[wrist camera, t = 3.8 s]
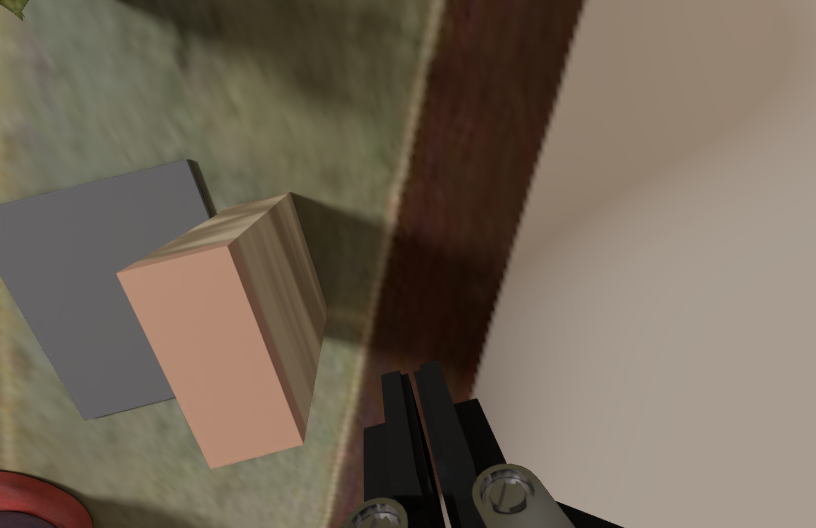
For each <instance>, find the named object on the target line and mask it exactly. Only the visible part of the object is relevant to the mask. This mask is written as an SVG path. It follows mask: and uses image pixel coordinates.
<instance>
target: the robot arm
mask: <svg viewBox="0 0 816 528" xmlns="http://www.w3.org/2000/svg"><path fill="white" fill-rule="evenodd" d="M420 368H421V370H418V371H415V372H414V375H415V379H416V384H417V388H418V393H419V397H420V401H421V406H422V410H423V414H424V419H425V423H426V427H427V432H428V436H429V441H430V445H431V449H432V454H433V458H434V462H435V466H436V471H437V475H438V479H439V482H440V486H441V490H442V494H443V498H444V501H445V505H446V509H447V513H448V517H449V520H450V524H451V528H624V527H621V526H618V525H616V524H613V523H611V522H608V521H606V520H603V519H600V518H598V517H595V516H593V515H590V514H588V513H585V512H583V511H580V510H578V509H575V508H572V507H570V506H567V505H565V504H562V503H560V502H557V501H555V500H554V499H553V498H552V496H551V495H550V494H549V492H548V491H547V490H546V488H545V487H544V486H543V484H542V483H541V482H540V480H539V479H538V478H537V477H536V476H535V475H534V474H533V473H532V472H531V471H530V470H528V469H526V468H524V467H522V466H519V465H514V464H507V463H506V461H505V459H504V457H503V454H502V452H501V450H500V447H499V445H498V443H497V441H496V439H495V436H494V434H493V432H492V430H491V428H490V425H489V423H488V421H487V419H486V417H485V414H484V412H483V410H482V408H481V405H480V403H479V401H478V399H477V398H475V399H472V400H468V401H464V402H460V403H457V404H453V402H452V399H451V396H450V394H449V391H448V388H447V385H446V382H445V379H444V376H443V374H442V371H441V368H440V365H439V362H438V360H436V361H433V362H429V363H425V364H421V365H420ZM381 380H382V391H383V403H384V414H385V423H382V424H379V425H375V426H371V427H367V428H364V503H362V504H361V505H359V506H357V507H356V508H355V509H354V510H353V511H352V512H351V513H350V514H349V515H348V517H347V518H346V519H345V521H344V522H343V525H342V528H446V527H445V522H444V518H443V513H442V509H441V504H440V499H439V495H438V490H437V486H436V481H435V477H434V472H433V467H432V463H431V459H430V454H429V450H428V447H427V443H426V439H425V435H424V431H423V428H422V424H421V420H420V416H419V413H418V409H417V405H416V401H415V398H414V394H413V390H412V386H411V383H410V379H409V375H408V373H407V374H403V375H401V373H400V370H399V371H395V372H391V373H387V374H383V375H381Z"/></svg>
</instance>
